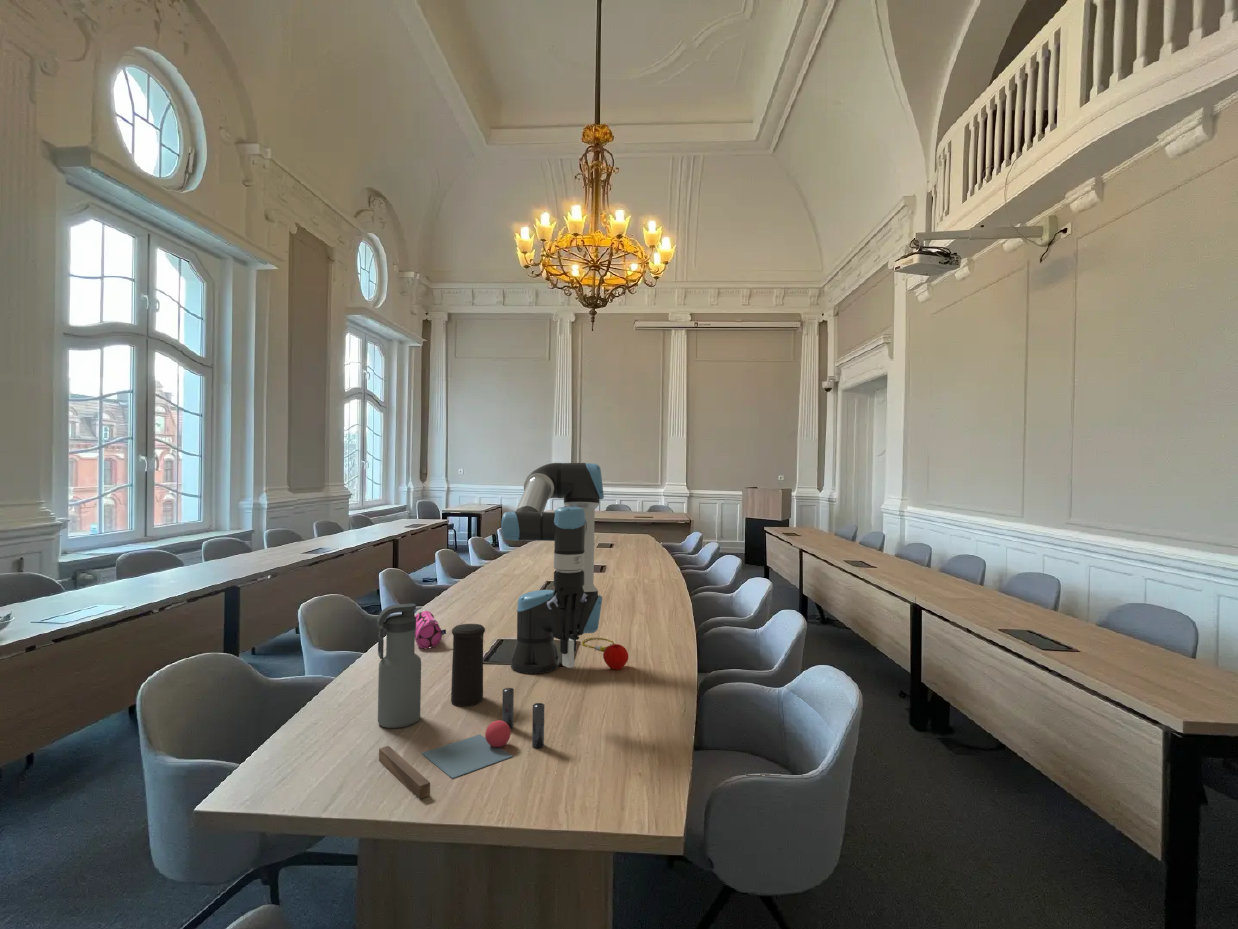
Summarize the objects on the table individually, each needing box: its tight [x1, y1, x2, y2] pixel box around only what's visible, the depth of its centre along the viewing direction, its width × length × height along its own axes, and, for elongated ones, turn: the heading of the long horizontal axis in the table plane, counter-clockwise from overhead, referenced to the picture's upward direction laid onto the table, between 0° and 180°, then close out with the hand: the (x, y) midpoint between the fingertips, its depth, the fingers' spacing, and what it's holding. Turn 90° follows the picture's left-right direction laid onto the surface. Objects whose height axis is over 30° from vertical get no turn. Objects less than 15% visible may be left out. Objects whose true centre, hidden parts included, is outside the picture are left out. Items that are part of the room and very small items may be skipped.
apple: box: [602, 643, 629, 671], centre depth 186 cm, size 8×8×7 cm
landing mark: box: [421, 734, 514, 780], centre depth 127 cm, size 14×14×1 cm
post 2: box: [531, 702, 545, 750], centre depth 132 cm, size 3×3×9 cm
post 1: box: [501, 687, 515, 731], centre depth 142 cm, size 3×3×9 cm
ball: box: [484, 719, 512, 748], centre depth 132 cm, size 6×6×6 cm
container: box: [450, 623, 486, 707], centre depth 158 cm, size 9×9×20 cm
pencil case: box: [415, 610, 447, 650], centre depth 214 cm, size 21×10×10 cm, turn 27°
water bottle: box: [376, 603, 422, 729], centre depth 145 cm, size 10×10×28 cm
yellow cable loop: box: [581, 637, 615, 653], centre depth 211 cm, size 12×16×2 cm
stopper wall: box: [378, 745, 431, 800], centre depth 118 cm, size 2×20×2 cm, turn 43°
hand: (567, 665), depth 146 cm, fingers closed
